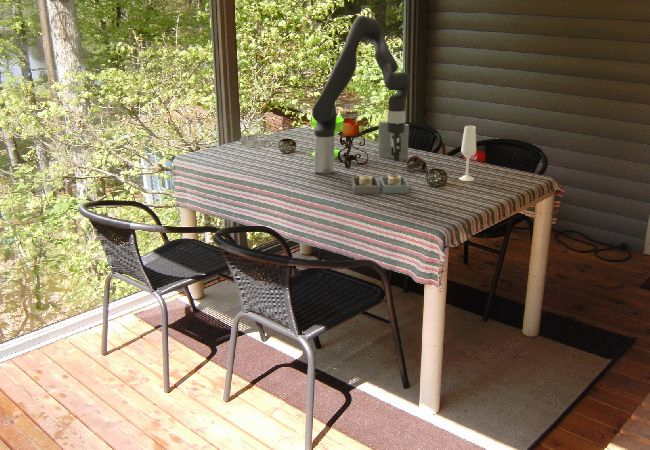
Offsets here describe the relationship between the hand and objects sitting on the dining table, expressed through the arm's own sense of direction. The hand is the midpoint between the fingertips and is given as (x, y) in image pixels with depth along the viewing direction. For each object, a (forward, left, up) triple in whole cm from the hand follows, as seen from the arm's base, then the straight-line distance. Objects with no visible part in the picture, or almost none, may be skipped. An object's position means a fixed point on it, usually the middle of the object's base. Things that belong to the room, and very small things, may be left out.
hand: (395, 158), depth 313 cm
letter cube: (0, 0, -13) cm, 13 cm away
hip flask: (+6, +52, -14) cm, 54 cm away
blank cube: (-13, 0, -13) cm, 18 cm away
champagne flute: (+35, +14, -14) cm, 40 cm away
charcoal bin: (-13, 0, -14) cm, 19 cm away
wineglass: (-26, +60, -14) cm, 67 cm away
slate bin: (0, 0, -14) cm, 14 cm away
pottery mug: (+15, +29, -14) cm, 36 cm away
